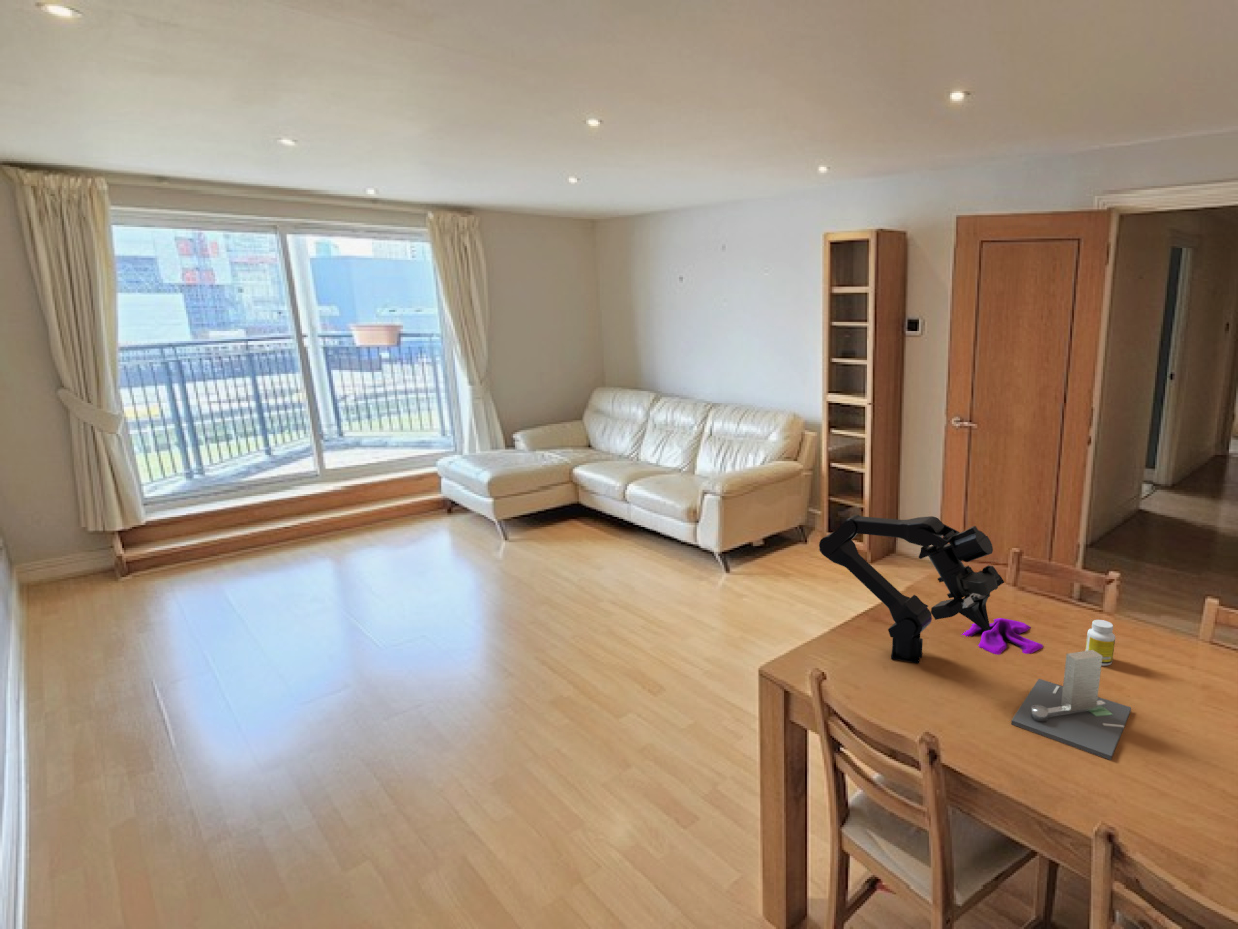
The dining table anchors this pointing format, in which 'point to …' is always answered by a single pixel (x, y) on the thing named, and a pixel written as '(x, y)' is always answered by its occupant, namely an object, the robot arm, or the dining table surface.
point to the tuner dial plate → (1074, 721)
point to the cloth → (1004, 636)
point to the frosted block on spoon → (1076, 687)
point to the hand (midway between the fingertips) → (987, 629)
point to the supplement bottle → (1101, 640)
